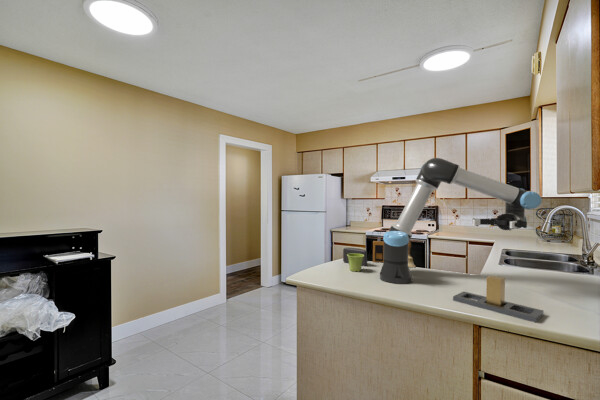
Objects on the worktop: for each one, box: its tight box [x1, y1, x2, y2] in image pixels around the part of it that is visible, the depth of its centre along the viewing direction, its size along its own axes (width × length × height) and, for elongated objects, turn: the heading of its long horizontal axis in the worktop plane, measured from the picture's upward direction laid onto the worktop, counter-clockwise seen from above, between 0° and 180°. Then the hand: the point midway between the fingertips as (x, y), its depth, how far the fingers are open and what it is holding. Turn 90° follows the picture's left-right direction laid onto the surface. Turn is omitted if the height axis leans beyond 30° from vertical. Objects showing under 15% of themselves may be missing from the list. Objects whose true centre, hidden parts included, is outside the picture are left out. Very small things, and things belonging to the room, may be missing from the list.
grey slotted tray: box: [452, 291, 544, 323], centre depth 108 cm, size 26×10×2 cm, turn 39°
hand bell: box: [408, 240, 416, 269], centre depth 173 cm, size 8×8×16 cm
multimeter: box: [367, 230, 387, 263], centre depth 188 cm, size 15×10×20 cm
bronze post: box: [485, 275, 506, 307], centre depth 108 cm, size 4×4×11 cm
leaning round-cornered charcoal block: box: [342, 247, 368, 267], centre depth 178 cm, size 16×5×9 cm, turn 49°
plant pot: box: [347, 253, 364, 273], centre depth 161 cm, size 9×9×9 cm
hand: (491, 223), depth 121 cm, fingers open, 13 cm apart
